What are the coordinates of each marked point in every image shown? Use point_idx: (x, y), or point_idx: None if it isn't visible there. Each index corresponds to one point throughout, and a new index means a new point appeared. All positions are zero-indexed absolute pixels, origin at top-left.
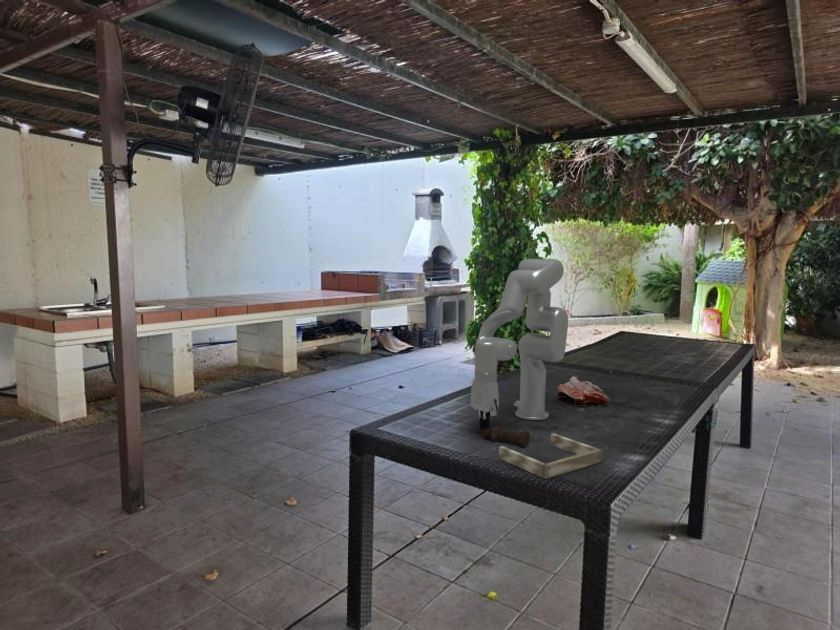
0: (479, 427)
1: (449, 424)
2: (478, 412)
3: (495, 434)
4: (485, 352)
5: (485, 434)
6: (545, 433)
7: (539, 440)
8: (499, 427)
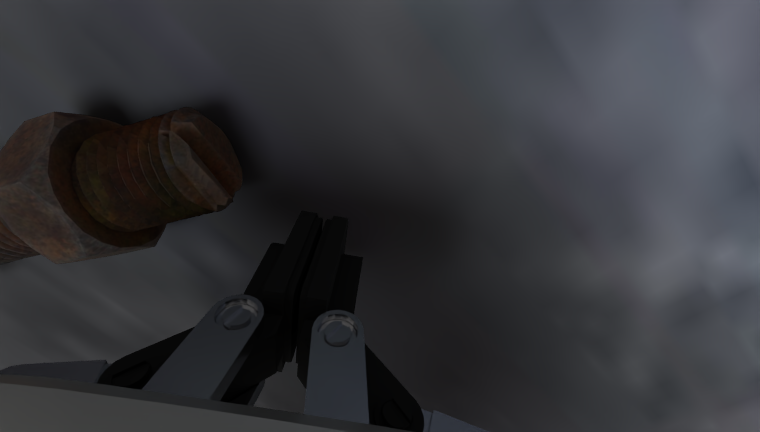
0: (344, 225)
1: (751, 209)
2: (354, 378)
3: (15, 140)
4: None
5: (159, 119)
6: None
7: (42, 340)
8: (52, 261)
